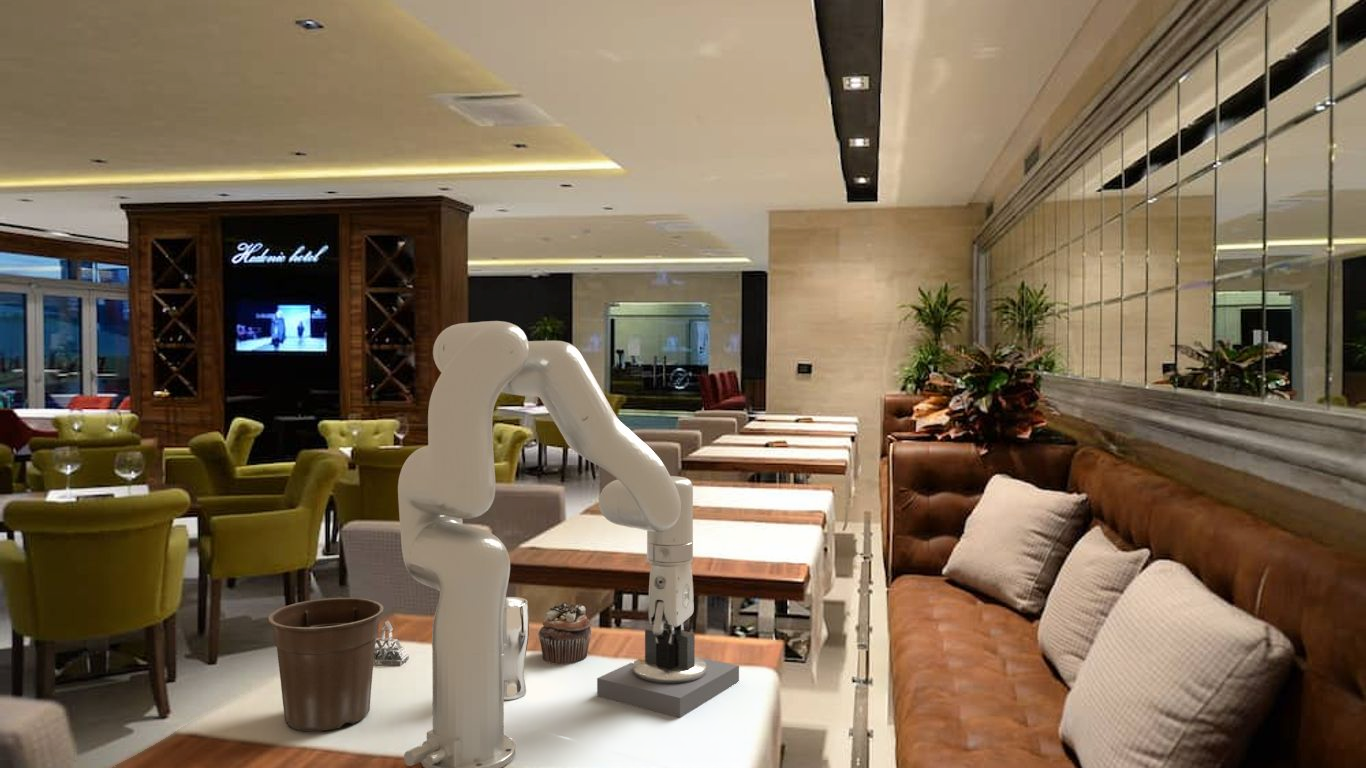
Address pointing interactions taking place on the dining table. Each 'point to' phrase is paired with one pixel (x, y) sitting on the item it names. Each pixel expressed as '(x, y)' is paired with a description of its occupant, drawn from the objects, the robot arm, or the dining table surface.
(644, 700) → the control panel
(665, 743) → the dining table surface
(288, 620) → the plant pot
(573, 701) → the dining table surface
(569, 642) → the cupcake
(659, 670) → the dial
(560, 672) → the dining table surface
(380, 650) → the house of cards
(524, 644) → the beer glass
